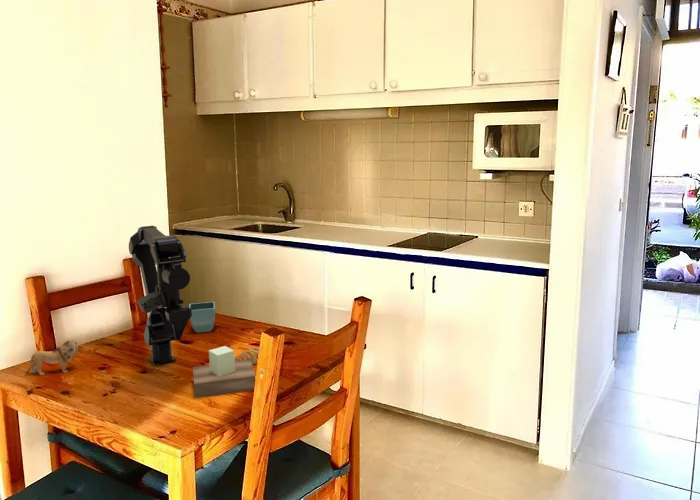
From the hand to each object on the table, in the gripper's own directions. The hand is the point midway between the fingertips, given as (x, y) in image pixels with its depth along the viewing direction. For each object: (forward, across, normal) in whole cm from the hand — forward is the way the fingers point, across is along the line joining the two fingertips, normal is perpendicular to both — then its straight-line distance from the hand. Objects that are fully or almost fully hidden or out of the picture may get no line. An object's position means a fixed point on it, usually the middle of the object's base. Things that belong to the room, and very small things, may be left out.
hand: (173, 335), depth 166 cm
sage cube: (+8, +14, +9) cm, 18 cm away
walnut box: (+13, +14, +9) cm, 21 cm away
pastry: (+12, +3, +21) cm, 25 cm away
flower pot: (+12, -34, +20) cm, 41 cm away
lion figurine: (+12, -24, -28) cm, 39 cm away
